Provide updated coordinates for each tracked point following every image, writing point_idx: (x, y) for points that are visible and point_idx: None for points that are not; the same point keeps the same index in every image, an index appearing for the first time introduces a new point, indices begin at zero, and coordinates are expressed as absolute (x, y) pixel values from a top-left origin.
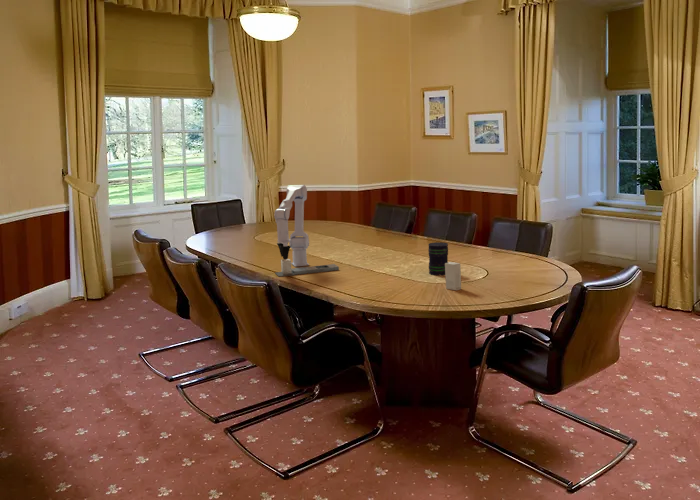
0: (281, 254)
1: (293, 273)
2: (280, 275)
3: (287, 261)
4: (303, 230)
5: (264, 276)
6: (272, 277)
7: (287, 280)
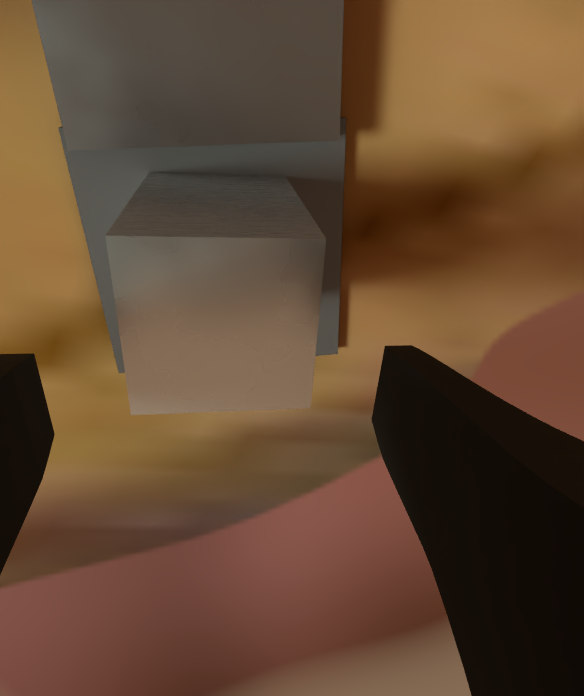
0: (35, 470)
1: (282, 143)
2: (319, 332)
3: (314, 306)
4: None
5: (234, 468)
6: (320, 406)
7: (555, 282)
